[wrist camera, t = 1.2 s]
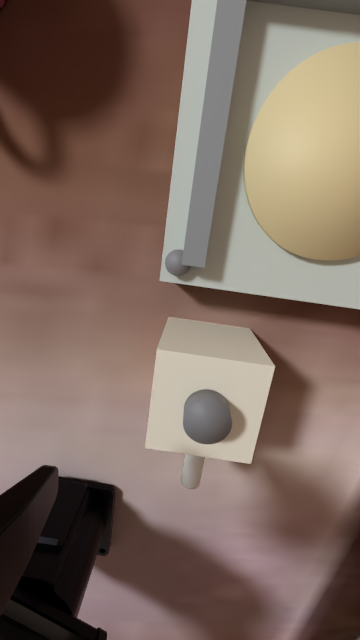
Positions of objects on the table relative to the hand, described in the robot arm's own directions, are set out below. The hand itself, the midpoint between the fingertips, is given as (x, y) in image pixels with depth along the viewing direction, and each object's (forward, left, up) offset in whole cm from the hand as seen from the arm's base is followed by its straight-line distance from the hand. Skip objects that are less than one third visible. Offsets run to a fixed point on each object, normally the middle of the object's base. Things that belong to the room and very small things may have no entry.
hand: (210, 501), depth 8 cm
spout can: (-1, 0, -10) cm, 10 cm away
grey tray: (+11, -4, -10) cm, 15 cm away
